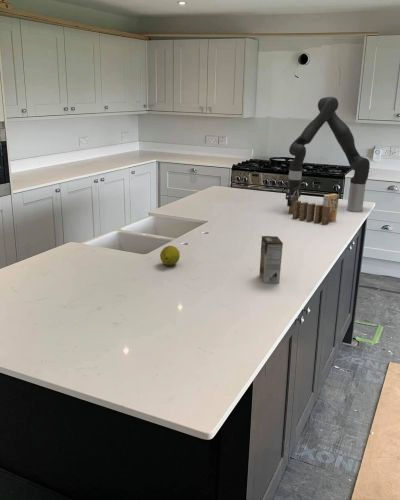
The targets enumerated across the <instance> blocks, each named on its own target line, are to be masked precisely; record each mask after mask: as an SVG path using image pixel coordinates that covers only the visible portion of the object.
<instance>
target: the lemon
mask: <svg viewBox="0 0 400 500" xmlns="http://www.w3.org/2000/svg"><path fill="white" fill-rule="evenodd" d="M159 254H160V256H159V257H160V261H161V263H163V264H164V265H166V266H173V265H175V264H177V263H178V261H179V260H180V255H181V254H180V250H179V249H178V248H177V246H174V245H167V246H165V247H164V248H163V249H162V250H161V251H160V253H159Z"/></svg>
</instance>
